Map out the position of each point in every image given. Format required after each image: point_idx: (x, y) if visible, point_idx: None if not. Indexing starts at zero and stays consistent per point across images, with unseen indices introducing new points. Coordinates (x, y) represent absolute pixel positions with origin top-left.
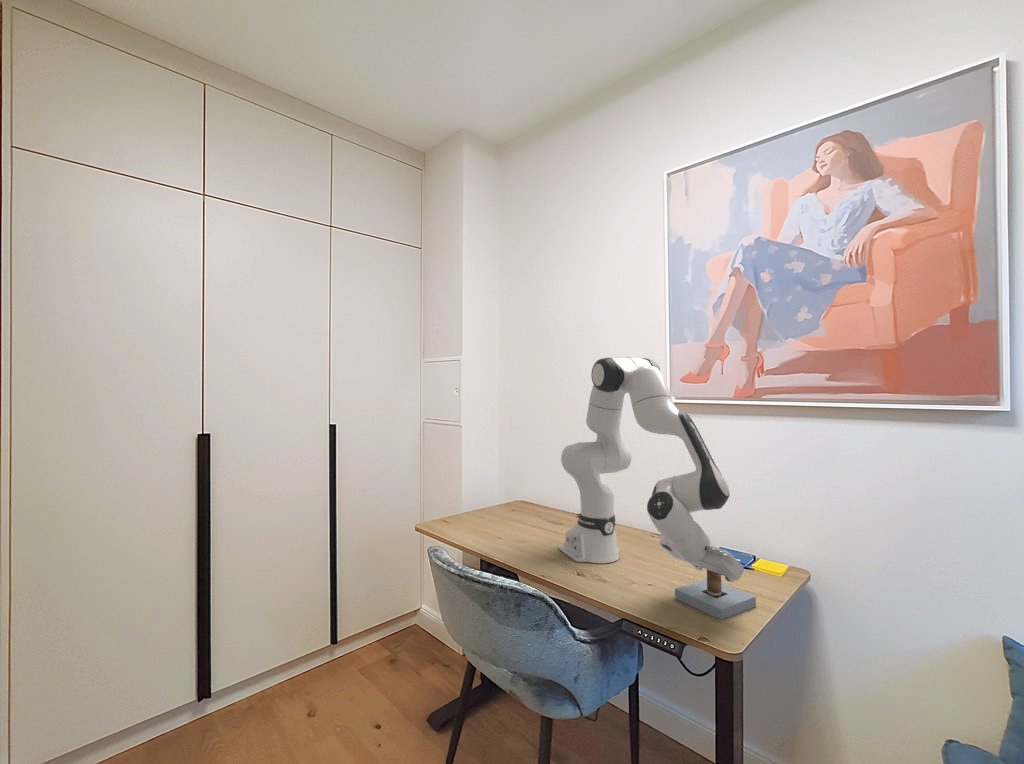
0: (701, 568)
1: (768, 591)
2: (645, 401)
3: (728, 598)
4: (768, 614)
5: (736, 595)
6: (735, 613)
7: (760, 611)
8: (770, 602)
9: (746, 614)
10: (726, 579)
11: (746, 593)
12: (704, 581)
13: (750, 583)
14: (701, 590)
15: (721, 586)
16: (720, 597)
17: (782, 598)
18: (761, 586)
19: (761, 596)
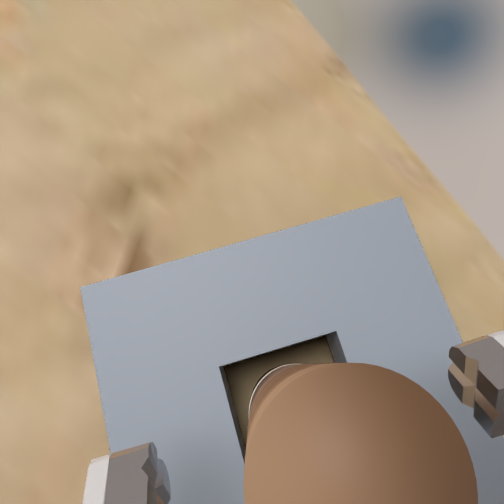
0: (164, 477)
1: (236, 42)
2: None
3: None
4: (461, 215)
5: (365, 295)
6: None
7: (425, 229)
8: (344, 115)
9: None
10: (475, 413)
11: (350, 216)
12: (114, 351)
13: (131, 54)
14: (240, 483)
15: (220, 293)
16: None
17: (317, 39)
18: (178, 32)
19: (276, 108)
